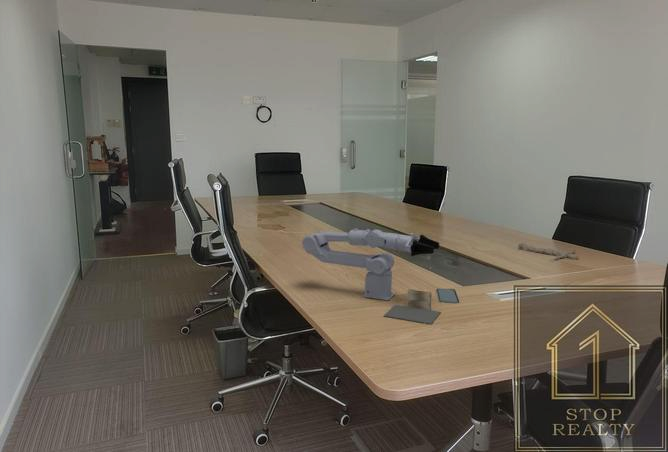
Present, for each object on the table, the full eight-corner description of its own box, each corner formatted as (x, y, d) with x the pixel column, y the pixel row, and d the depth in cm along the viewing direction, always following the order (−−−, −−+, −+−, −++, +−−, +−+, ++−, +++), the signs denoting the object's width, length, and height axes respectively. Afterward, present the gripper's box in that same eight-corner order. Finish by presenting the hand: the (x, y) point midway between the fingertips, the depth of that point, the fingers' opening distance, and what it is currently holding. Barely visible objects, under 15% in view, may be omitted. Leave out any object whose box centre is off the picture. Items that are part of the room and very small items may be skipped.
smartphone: (439, 301, 179) (435, 288, 193) (438, 304, 179) (435, 290, 193) (460, 302, 178) (455, 289, 192) (460, 305, 178) (455, 291, 192)
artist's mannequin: (506, 254, 256) (564, 268, 234) (506, 246, 255) (565, 259, 233) (532, 245, 274) (589, 257, 252) (533, 238, 273) (590, 249, 251)
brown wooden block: (407, 307, 174) (407, 290, 173) (408, 305, 175) (408, 289, 174) (429, 310, 171) (430, 293, 170) (430, 309, 172) (431, 292, 171)
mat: (383, 316, 164) (383, 315, 164) (395, 305, 175) (395, 304, 175) (431, 324, 158) (431, 323, 158) (440, 312, 168) (440, 311, 168)
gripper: (393, 235, 171) (432, 241, 166) (405, 227, 184) (442, 233, 179) (391, 254, 173) (430, 261, 167) (404, 246, 186) (440, 251, 180)
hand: (436, 248), depth 173 cm, fingers open, 7 cm apart
